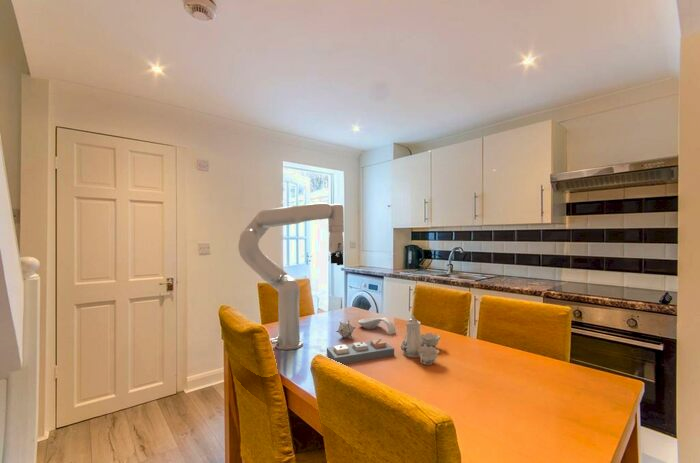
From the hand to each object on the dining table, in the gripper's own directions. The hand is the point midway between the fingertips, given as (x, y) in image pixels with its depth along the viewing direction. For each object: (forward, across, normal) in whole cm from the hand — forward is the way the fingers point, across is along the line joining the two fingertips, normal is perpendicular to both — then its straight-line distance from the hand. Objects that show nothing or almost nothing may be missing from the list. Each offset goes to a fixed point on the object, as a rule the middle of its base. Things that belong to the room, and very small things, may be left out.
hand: (336, 264), depth 159 cm
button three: (+34, +24, +10) cm, 43 cm away
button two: (+35, +24, +2) cm, 42 cm away
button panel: (+37, +24, +2) cm, 44 cm away
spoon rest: (+37, -7, +24) cm, 45 cm away
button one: (+35, +24, -7) cm, 42 cm away
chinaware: (+37, +33, +26) cm, 56 cm away
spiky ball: (+37, 0, +4) cm, 37 cm away
